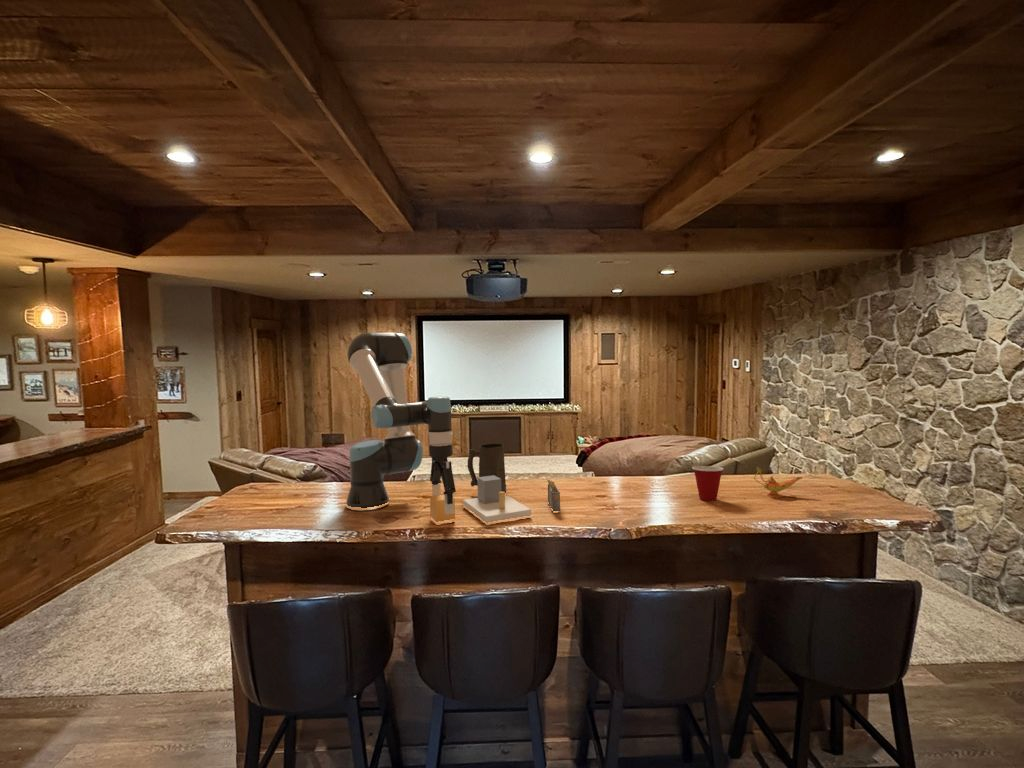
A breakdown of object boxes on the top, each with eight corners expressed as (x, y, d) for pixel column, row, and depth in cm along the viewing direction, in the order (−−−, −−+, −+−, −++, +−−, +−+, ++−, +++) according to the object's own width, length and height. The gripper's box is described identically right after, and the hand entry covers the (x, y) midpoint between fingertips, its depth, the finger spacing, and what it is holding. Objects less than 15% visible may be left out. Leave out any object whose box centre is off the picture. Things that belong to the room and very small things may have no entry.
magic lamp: (808, 497, 187) (808, 467, 187) (758, 498, 188) (758, 468, 187) (797, 492, 194) (798, 464, 194) (749, 493, 194) (750, 464, 194)
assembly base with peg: (463, 508, 183) (462, 477, 183) (504, 501, 190) (503, 472, 190) (486, 525, 163) (485, 491, 163) (531, 518, 170) (530, 485, 170)
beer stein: (510, 491, 205) (505, 441, 204) (507, 498, 194) (502, 446, 193) (472, 493, 206) (467, 444, 205) (467, 501, 196) (462, 449, 195)
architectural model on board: (546, 505, 186) (546, 478, 186) (555, 505, 186) (554, 478, 186) (551, 514, 175) (550, 486, 174) (560, 514, 175) (559, 486, 175)
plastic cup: (718, 495, 193) (718, 463, 192) (727, 503, 182) (727, 470, 182) (688, 495, 194) (688, 463, 194) (696, 503, 183) (696, 470, 183)
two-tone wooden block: (430, 520, 170) (429, 496, 170) (449, 517, 173) (448, 493, 173) (436, 525, 165) (435, 501, 164) (455, 522, 167) (454, 498, 167)
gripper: (464, 448, 158) (466, 516, 159) (440, 438, 180) (442, 498, 181) (440, 450, 155) (443, 520, 155) (419, 440, 177) (421, 501, 178)
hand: (443, 508), depth 168 cm, fingers open, 13 cm apart
